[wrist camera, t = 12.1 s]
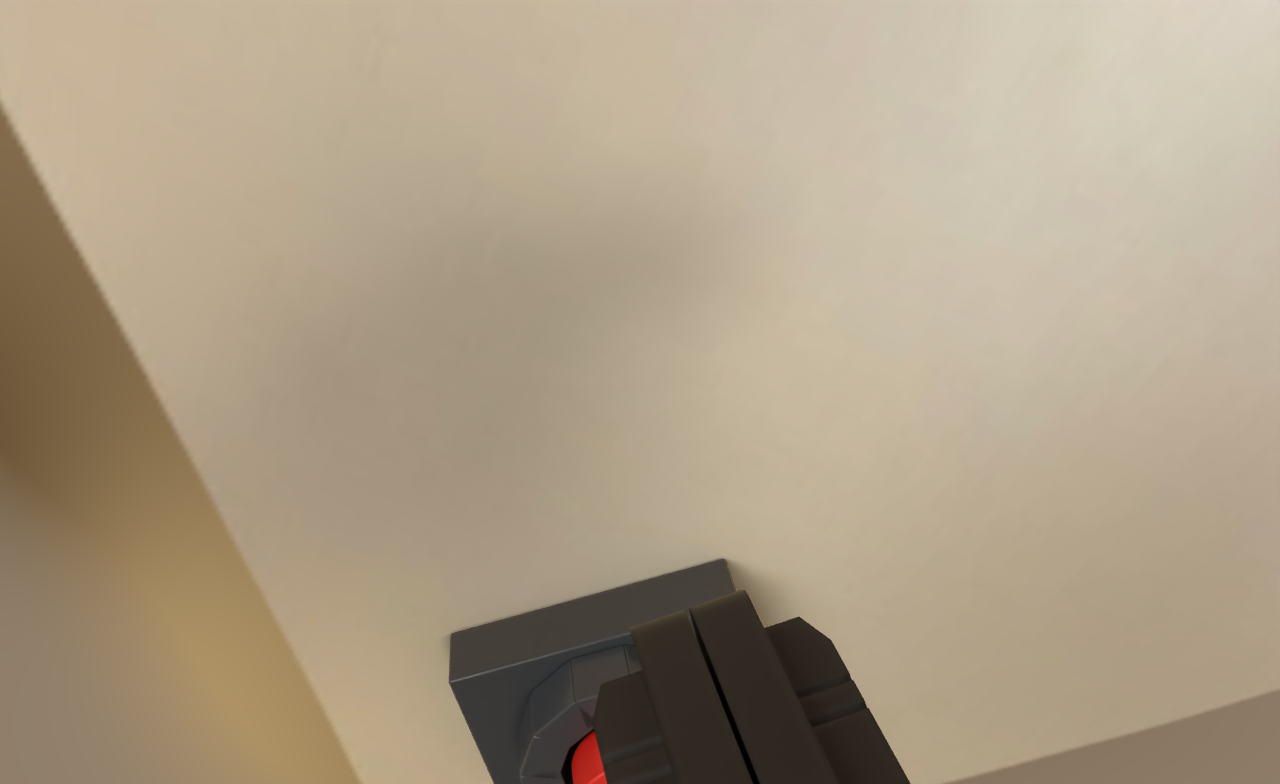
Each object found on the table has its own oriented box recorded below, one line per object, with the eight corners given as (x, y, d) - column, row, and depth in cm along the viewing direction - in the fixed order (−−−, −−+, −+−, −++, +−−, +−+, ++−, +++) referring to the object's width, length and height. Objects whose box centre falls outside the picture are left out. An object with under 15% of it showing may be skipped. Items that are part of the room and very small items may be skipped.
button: (587, 811, 32) (592, 859, 31) (558, 735, 31) (562, 783, 29) (693, 781, 32) (703, 828, 31) (669, 704, 31) (679, 750, 29)
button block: (513, 780, 36) (517, 881, 33) (449, 633, 33) (446, 727, 30) (762, 711, 37) (792, 804, 33) (724, 557, 33) (753, 643, 30)
